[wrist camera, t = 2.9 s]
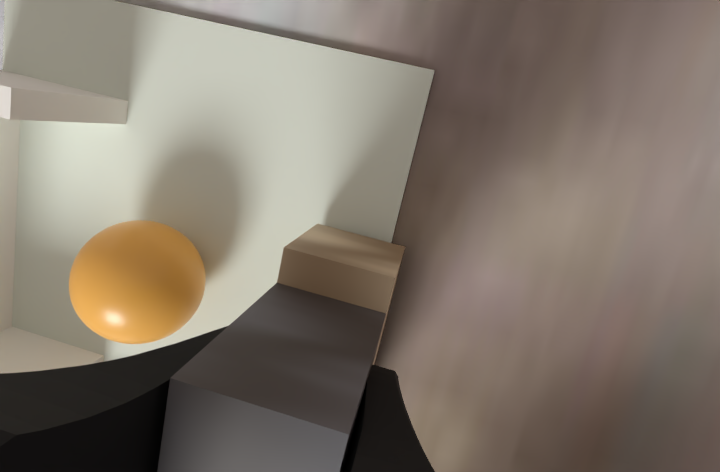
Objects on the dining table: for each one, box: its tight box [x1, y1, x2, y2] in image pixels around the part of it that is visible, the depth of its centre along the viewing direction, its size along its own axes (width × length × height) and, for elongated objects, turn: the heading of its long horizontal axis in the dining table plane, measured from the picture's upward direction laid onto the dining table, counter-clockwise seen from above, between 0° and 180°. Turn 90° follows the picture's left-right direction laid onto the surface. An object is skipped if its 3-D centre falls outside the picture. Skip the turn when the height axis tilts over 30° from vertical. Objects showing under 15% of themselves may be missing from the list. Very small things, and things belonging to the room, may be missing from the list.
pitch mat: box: [2, 0, 435, 362], centre depth 17 cm, size 15×19×1 cm
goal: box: [0, 70, 128, 374], centre depth 15 cm, size 5×11×4 cm, turn 167°
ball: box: [69, 220, 206, 344], centre depth 15 cm, size 4×4×4 cm
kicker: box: [157, 224, 405, 472], centre depth 12 cm, size 3×11×8 cm, turn 167°
